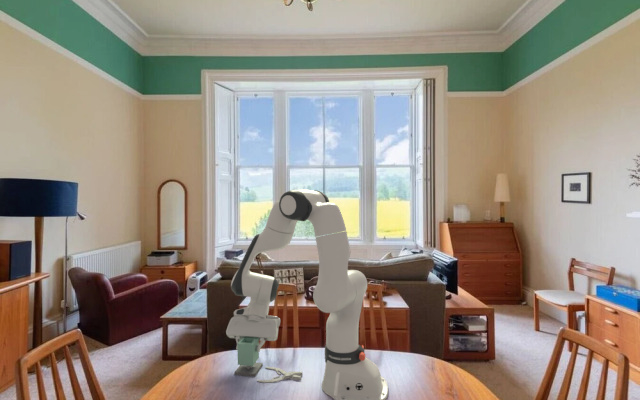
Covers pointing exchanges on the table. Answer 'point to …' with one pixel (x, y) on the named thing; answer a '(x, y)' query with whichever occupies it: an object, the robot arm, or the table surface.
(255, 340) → the sleeve
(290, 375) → the pliers
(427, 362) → the table surface
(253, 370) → the post stand
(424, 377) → the table surface
